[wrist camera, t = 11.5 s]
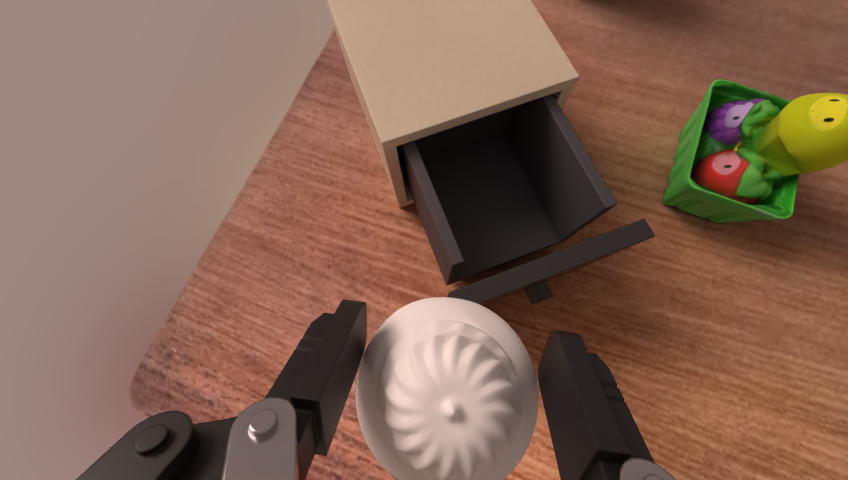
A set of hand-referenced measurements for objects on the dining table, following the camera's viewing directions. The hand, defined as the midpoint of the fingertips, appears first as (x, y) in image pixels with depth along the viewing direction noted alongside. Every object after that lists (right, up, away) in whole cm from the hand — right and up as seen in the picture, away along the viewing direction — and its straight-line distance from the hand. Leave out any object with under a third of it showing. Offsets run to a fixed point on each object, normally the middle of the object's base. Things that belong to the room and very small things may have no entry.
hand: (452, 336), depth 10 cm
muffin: (0, -3, +4) cm, 5 cm away
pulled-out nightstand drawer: (+5, +5, +18) cm, 19 cm away
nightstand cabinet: (0, +16, +22) cm, 27 cm away
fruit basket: (+26, +9, +20) cm, 34 cm away
